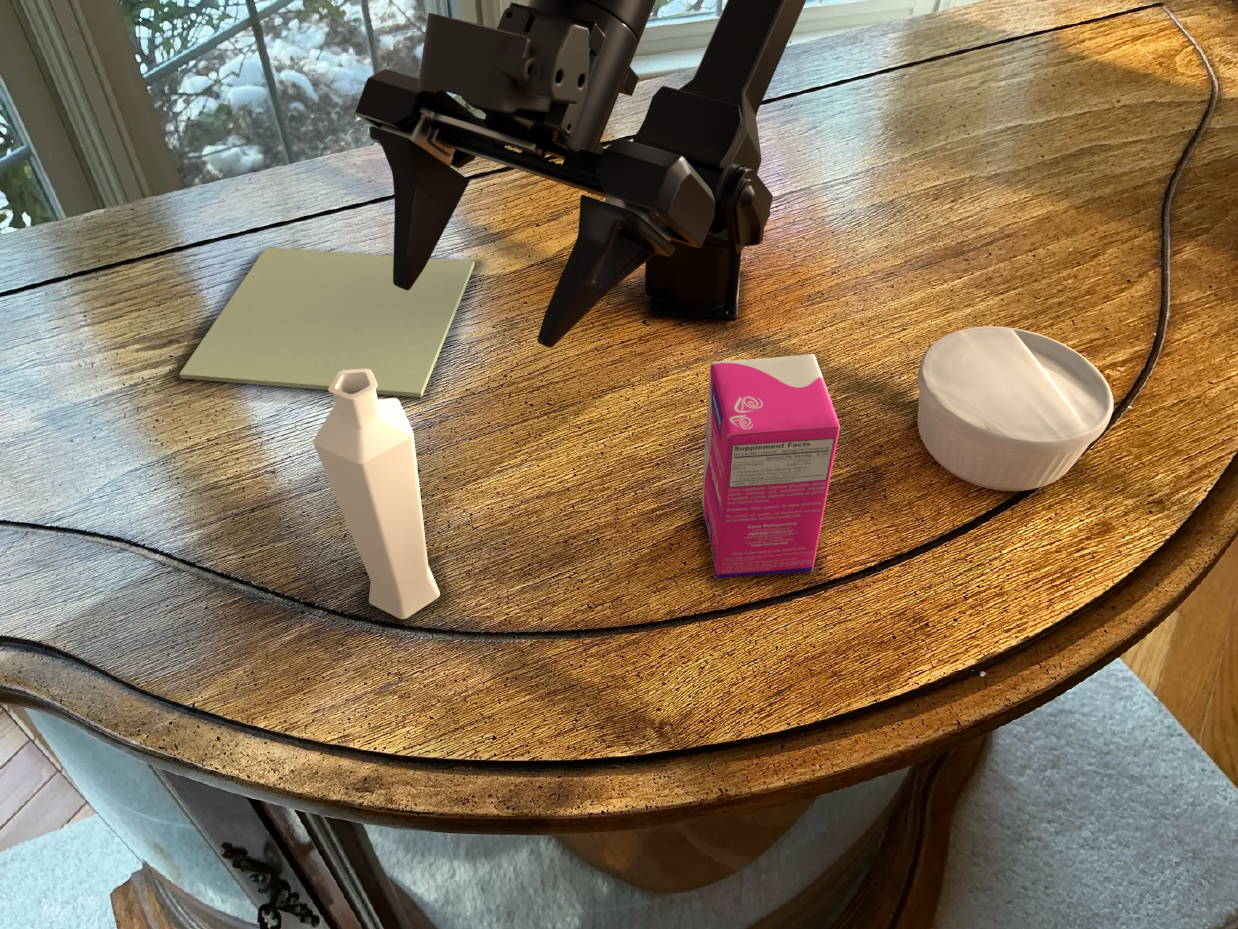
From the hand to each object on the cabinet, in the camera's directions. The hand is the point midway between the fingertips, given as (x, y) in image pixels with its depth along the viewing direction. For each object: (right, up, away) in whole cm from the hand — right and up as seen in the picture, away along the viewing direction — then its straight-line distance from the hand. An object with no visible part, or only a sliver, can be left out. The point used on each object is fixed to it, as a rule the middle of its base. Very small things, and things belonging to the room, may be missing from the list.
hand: (469, 315), depth 50 cm
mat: (-13, +3, +23) cm, 26 cm away
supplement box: (+15, -12, +7) cm, 21 cm away
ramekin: (+32, -6, +13) cm, 35 cm away
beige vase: (-4, -15, +5) cm, 16 cm away
